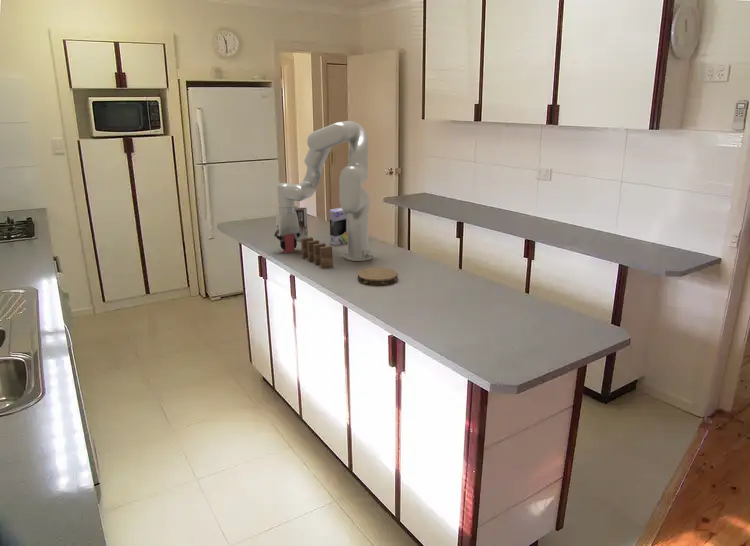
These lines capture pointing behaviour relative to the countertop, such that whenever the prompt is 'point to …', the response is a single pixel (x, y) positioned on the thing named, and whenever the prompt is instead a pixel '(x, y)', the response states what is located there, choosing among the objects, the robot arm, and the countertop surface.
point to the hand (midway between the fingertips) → (288, 247)
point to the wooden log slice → (377, 276)
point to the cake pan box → (338, 226)
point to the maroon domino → (289, 243)
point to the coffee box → (302, 222)
